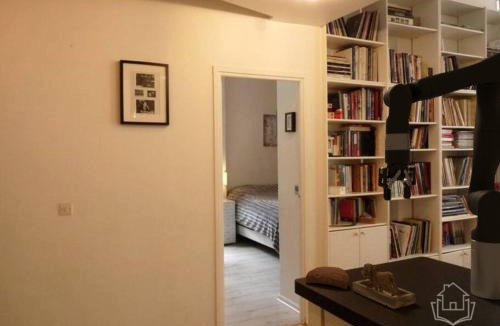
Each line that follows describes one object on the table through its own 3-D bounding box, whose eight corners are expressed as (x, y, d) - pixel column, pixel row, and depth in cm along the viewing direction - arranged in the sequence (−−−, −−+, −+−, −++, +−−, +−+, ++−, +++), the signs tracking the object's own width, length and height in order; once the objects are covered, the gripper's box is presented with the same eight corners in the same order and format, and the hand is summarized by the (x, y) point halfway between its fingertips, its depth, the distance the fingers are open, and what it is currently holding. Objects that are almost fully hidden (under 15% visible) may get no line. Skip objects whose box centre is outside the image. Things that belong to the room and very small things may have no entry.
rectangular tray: (373, 286, 131) (373, 278, 131) (415, 303, 116) (415, 293, 116) (352, 290, 127) (352, 282, 127) (393, 308, 112) (393, 299, 112)
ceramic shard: (357, 264, 140) (347, 282, 127) (356, 280, 141) (345, 299, 128) (318, 254, 147) (304, 270, 134) (317, 269, 148) (303, 287, 135)
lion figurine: (361, 292, 125) (357, 264, 126) (373, 289, 127) (368, 261, 129) (398, 297, 112) (393, 265, 114) (410, 293, 115) (405, 262, 116)
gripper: (390, 148, 116) (390, 202, 116) (422, 148, 123) (422, 199, 123) (371, 148, 123) (372, 200, 123) (403, 148, 129) (403, 197, 130)
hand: (397, 199), depth 123 cm, fingers open, 8 cm apart
